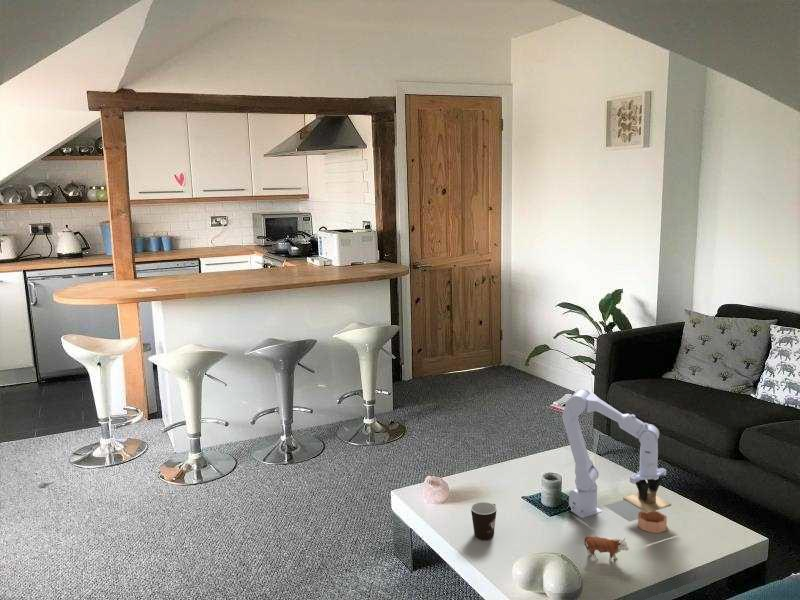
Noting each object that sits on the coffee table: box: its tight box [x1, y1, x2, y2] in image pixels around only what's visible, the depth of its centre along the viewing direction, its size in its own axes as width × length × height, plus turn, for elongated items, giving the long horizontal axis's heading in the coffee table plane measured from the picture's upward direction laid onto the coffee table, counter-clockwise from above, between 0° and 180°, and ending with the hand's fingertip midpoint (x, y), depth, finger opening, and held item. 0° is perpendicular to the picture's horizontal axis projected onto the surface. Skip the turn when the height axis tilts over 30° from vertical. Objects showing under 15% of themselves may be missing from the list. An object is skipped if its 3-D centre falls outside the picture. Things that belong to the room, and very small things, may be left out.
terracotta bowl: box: [637, 510, 668, 534], centre depth 229 cm, size 9×9×4 cm
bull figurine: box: [583, 535, 630, 564], centre depth 211 cm, size 4×13×8 cm, turn 66°
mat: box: [603, 499, 642, 522], centre depth 242 cm, size 13×13×1 cm
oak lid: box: [622, 488, 672, 513], centre depth 231 cm, size 11×11×5 cm
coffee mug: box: [470, 501, 498, 541], centre depth 228 cm, size 12×9×10 cm
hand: (647, 498), depth 231 cm, fingers closed on oak lid, 3 cm apart
